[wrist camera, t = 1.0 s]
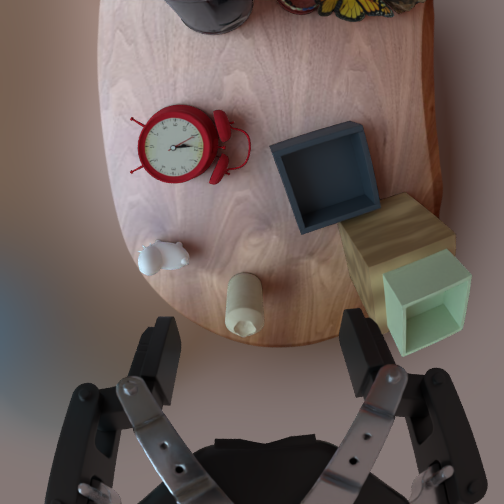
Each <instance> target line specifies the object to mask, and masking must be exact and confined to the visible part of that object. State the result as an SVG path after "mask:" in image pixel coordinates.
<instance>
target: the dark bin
mask: <svg viewBox="0 0 504 504" xmlns="http://www.w3.org/2000/svg"><path fill="white" fill-rule="evenodd" d="M269 147H270V149H271V152H272V155H273V157H274V160H275V163H276V165H277V168H278V171H279V174H280V176H281V179H282V182H283V185H284V187H285V190H286V193H287V196H288V199H289V202H290V204H291V207H292V210H293V213H294V216H295V219H296V222H297V224H298V227H299V230H300V233H301V235H303V234H306V233H309V232H311V231H314V230H317V229H320V228H323V227H326V226H329V225H332V224H335V223H338V222H341V221H344V220H347V219H350V218H353V217H356V216H359V215H362V214H365V213H368V212H370V211H373V210H376V209H379V208H381V204H380V199H379V194H378V189H377V184H376V179H375V174H374V170H373V165H372V161H371V157H370V152H369V148H368V144H367V140H366V137H365V133H364V129H363V125H361V124H358V123H355V122H352V121H347V122H344V123H340V124H337V125H333V126H330V127H326V128H323V129H320V130H316V131H313V132H310V133H307V134H304V135H300V136H297V137H294V138H291V139H288V140H285V141H282V142H279V143H276V144H274V145H271V146H269Z"/></svg>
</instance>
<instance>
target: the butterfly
mask: <svg viewBox="0 0 504 504" xmlns="http://www.w3.org/2000/svg"><path fill="white" fill-rule="evenodd" d="M314 1H315V2H316V3H317V4H318V5H320V6H319V8H318V14H319V15H320V16H328V15H331V14H332V12H333V11H334V12H335V13H336V16H337V17H339V18H340V19H344V20H346V21H350V22H356V21H361V20H362V19H364V17H365V14H366V15H368V16H384V17H393V16H394V14H393V11H392V10H391V9H390V8H389V7H388V6H387V5H386V4H385V3H384V2H383V1H382V0H314ZM336 3H337V4H336ZM335 5H336V6H335Z"/></svg>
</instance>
